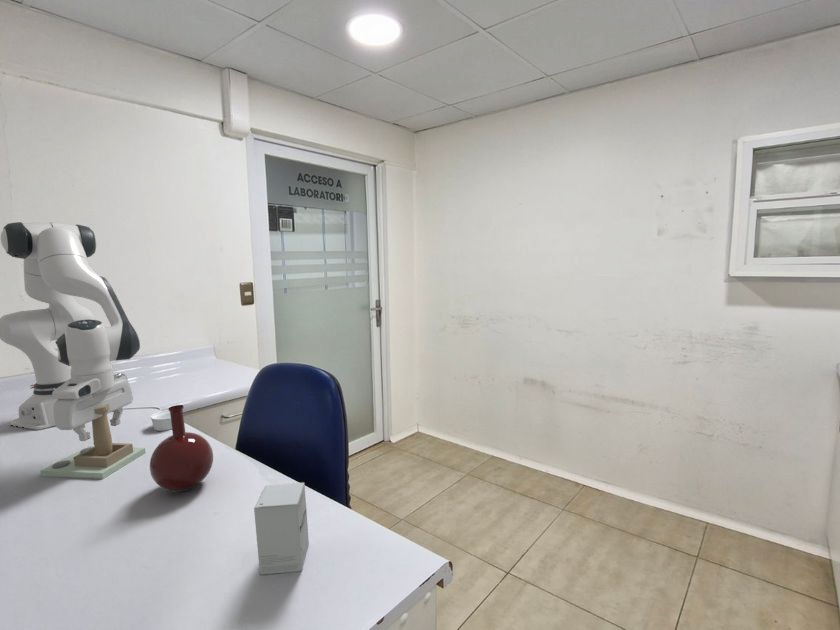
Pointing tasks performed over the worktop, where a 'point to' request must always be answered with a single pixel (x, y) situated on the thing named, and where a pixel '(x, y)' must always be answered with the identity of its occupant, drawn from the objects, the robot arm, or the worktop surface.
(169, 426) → the ramekin
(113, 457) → the green board with frame
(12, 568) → the worktop surface
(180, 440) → the round-bottom flask
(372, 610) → the worktop surface
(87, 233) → the robot arm
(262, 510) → the supplement box
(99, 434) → the handle
